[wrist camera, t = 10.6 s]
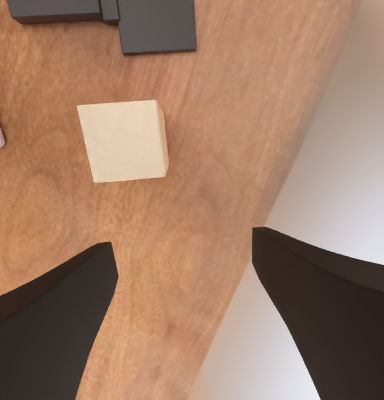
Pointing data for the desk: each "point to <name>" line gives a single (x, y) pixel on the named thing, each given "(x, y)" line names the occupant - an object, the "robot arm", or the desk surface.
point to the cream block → (125, 140)
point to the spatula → (121, 20)
